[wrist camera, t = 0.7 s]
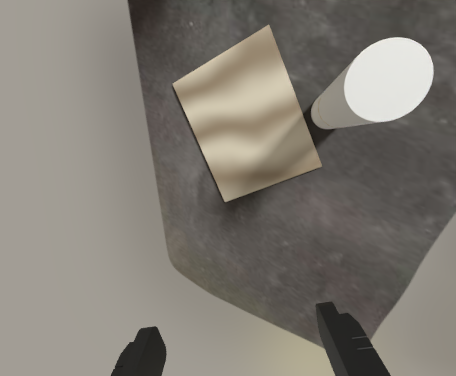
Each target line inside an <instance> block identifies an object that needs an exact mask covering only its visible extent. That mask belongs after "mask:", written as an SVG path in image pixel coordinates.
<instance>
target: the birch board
mask: <svg viewBox="0 0 456 376" xmlns="http://www.w3.org/2000/svg"><path fill="white" fill-rule="evenodd" d="M173 86H174V89H175V91H176V93H177V95H178V98H179V100H180V102H181V104H182V107H183V109H184V111H185V113H186V116H187V118H188V120H189V122H190V125H191V127H192V129H193V131H194V134H195V136H196V138H197V140H198V143H199V145H200V147H201V149H202V152H203V154H204V156H205V158H206V161H207V163H208V165H209V167H210V170H211V172H212V174H213V176H214V179H215V181H216V183H217V185H218V188H219V190H220V192H221V195H222V197H223V199H224V201H225V202H227V201H230V200H233V199H235V198H238V197H241V196H244V195H246V194H249V193H252V192H254V191H257V190H260V189H262V188H265V187H268V186H270V185H273V184H276V183H279V182H281V181H284V180H287V179H289V178H292V177H295V176H297V175H300V174H303V173H305V172H308V171H311V170H314V169H316V168H319V167H322V165H321V162H320V159H319V157H318V154H317V151H316V149H315V146H314V143H313V141H312V138H311V135H310V133H309V130H308V127H307V125H306V122H305V119H304V117H303V114H302V111H301V109H300V106H299V103H298V101H297V98H296V95H295V93H294V90H293V87H292V85H291V82H290V79H289V77H288V74H287V71H286V69H285V66H284V63H283V61H282V58H281V55H280V53H279V50H278V47H277V45H276V42H275V39H274V37H273V34H272V31H271V29H270V26H269V25H268V26H266V27H264V28H263V29H261V30H260V31H258V32H256V33H255V34H253V35H251V36H250V37H248V38H246V39H245V40H243V41H242V42H240V43H238V44H237V45H235V46H233V47H232V48H230V49H229V50H227V51H225V52H224V53H222V54H220V55H219V56H217V57H216V58H214V59H212V60H211V61H209V62H207V63H206V64H204V65H202V66H201V67H199V68H198V69H196V70H194V71H193V72H191V73H189V74H188V75H186V76H185V77H183V78H181V79H180V80H178V81H176V82H175V83H173Z"/></svg>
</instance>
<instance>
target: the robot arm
mask: <svg viewBox="0 0 456 376" xmlns="http://www.w3.org/2000/svg"><path fill="white" fill-rule="evenodd" d="M316 314H317V322H318V329H319V333H320V337H321V340H322V342H323V345H324V348H325V350H326V353H327V355H328V358H329V360H330V363H331V366H332V368H333V371H334V373H335V376H391V375H390V374H389V372H388V370H387V369H386V367H385V365H384V364H383V362H382V360H381V359H380V357H379V355H378V354H377V352H376V350H375V349H374V348H373V346H372V344H371V342H370V340H369V339H368V338H367V336H366V334H365V332H364V330H363V329H362V327H361V325H360V324H359V322H357V321H356V320H355V319H354V318H353V317H352V316H351V315H350V314H348V313H344V314H339V313H338V311H337V309H336V307H335V306H334V304H333V303H332V302H325V303H319V304H316ZM165 361H166V347H165V344H164V342H163V340H162V337H161V335H160V333H159V330H158V328H157V327H147V328H141V329H140V330H139V331H138V333H137V336H136V338H135V340H134V342H130V343H129V344H128V345H127V347H126V348H125V349H124V351H123V352H122V353H121V355H120V357H119V359H118V361H117V363H116V366H115V369H114V370H113V372H112V374H111V376H161V375H162V372H163V368H164V364H165Z"/></svg>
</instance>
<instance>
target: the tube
mask: <svg viewBox="0 0 456 376" xmlns="http://www.w3.org/2000/svg"><path fill="white" fill-rule="evenodd" d="M432 79H433V64H432V60H431V57H430V55H429V54H428V52H427V50H426V49H425V48H424V47H423V46H422V45H420V44H419V43H417V42H416V41H413V40H410V39H407V38H399V37H398V38H388V39H385V40H381V41H379V42H377V43H374V44H372V45H371V46H369V47H368V48H366V49H365V50H363V51H362V52H361V53H360V54H359V55H358V56H357V57H356V58H355V59H354V60H353V61H352V63H351V64H350V65H349V66H348V67H347V68H346V69H345V70H344V71H343V72H342V73H341V74H340V75H339V76H338V77H337V78H336V79H335V80H334V81H333V82H332V84H331V85H330V86H329V87H328V88H327V89H326V90H325V91H324V92H323V93H322V94H321V95H320V96H319V97H318V98H317V99H316V100H315V102H314V103H313V105H312V108H311V117H312V120H313V122H314V123H315V124H316V125H317V126H318V127H320V128H322V129H335V128H342V127H349V126H356V125H363V124H371V123H378V122H385V121H390V120H394V119H397V118H400V117H402V116H404V115H405V114H407V113H409V112H410V111H412V110H413V109H414V108H415V107H417V106H418V105H419V103H420V102H421V101H422V100H423V99H424V97H425V96H426V94H427V93H428V91H429V88H430V86H431V83H432Z"/></svg>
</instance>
